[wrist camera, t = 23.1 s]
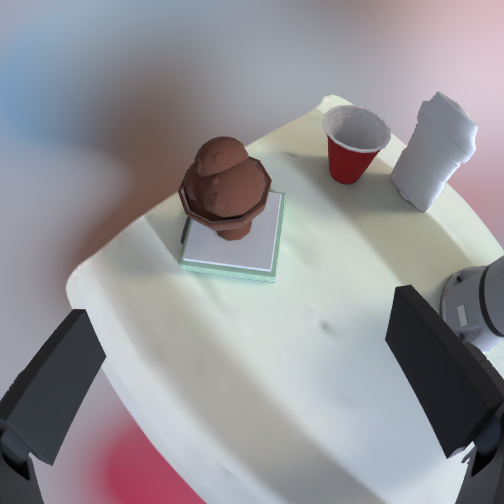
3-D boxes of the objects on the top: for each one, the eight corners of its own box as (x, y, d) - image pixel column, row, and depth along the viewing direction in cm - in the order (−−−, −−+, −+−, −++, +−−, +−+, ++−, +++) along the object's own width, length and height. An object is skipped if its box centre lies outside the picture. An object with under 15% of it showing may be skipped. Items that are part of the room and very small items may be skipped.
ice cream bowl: (182, 224, 41) (147, 158, 27) (239, 181, 43) (227, 107, 30) (226, 274, 37) (202, 218, 24) (286, 224, 40) (293, 152, 26)
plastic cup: (305, 156, 49) (311, 106, 38) (354, 147, 50) (368, 101, 39) (329, 202, 45) (344, 154, 34) (380, 190, 45) (403, 145, 34)
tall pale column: (431, 208, 44) (491, 128, 23) (420, 218, 43) (483, 135, 23) (395, 169, 47) (436, 80, 27) (382, 176, 47) (424, 83, 26)
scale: (285, 201, 45) (286, 189, 42) (275, 282, 40) (275, 275, 37) (198, 193, 47) (194, 182, 44) (177, 269, 42) (171, 261, 39)
